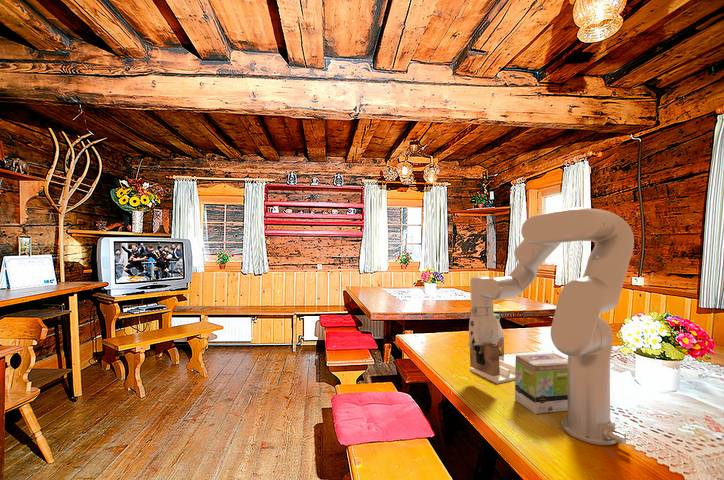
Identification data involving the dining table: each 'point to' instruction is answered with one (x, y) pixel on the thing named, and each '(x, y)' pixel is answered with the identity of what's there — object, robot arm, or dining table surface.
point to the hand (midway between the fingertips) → (484, 362)
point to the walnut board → (487, 360)
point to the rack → (505, 373)
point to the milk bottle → (500, 339)
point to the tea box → (541, 382)
